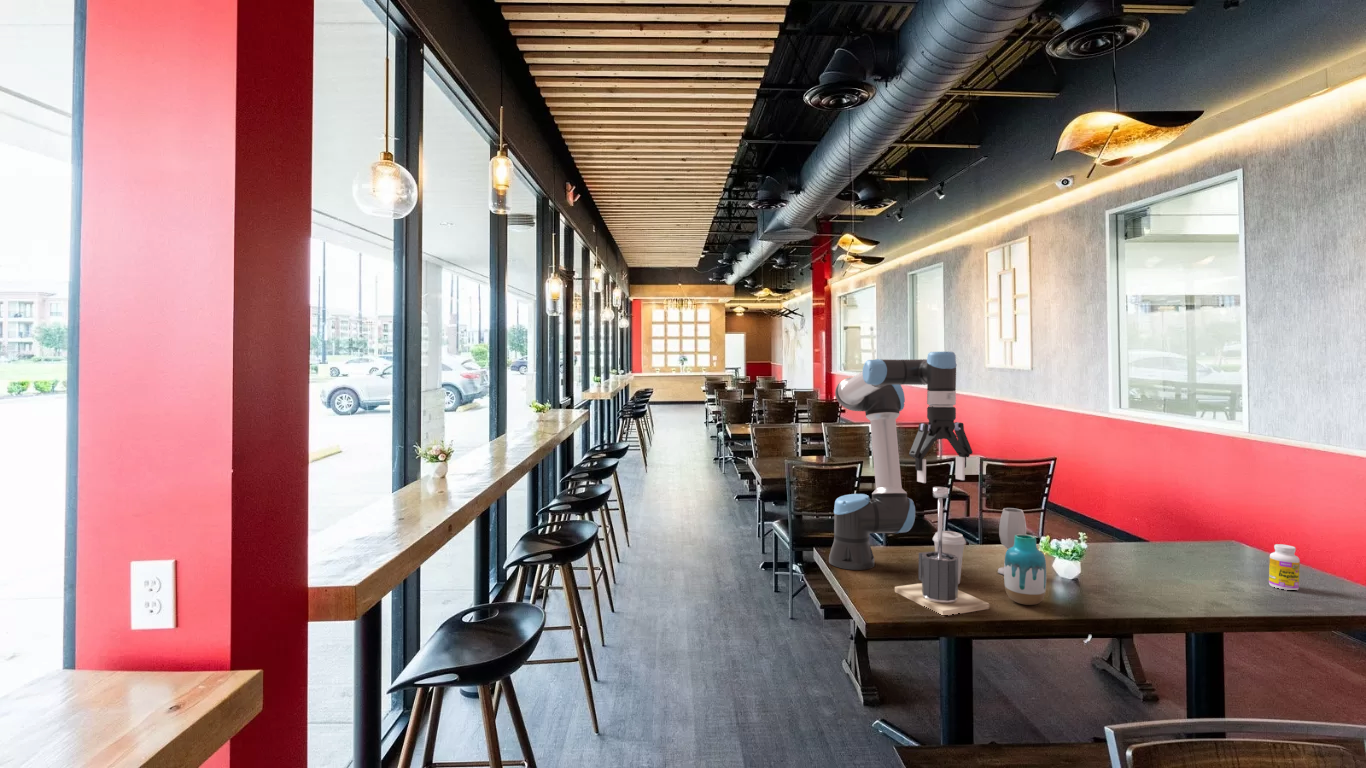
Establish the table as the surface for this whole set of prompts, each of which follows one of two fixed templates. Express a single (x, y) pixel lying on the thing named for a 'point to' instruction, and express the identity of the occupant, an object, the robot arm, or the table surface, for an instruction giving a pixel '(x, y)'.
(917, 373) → the robot arm
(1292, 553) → the supplement bottle
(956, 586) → the fluted grey tumbler
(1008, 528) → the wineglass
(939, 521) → the plunger
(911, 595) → the serving board
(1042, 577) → the vase
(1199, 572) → the table surface
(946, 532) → the coffee cup
